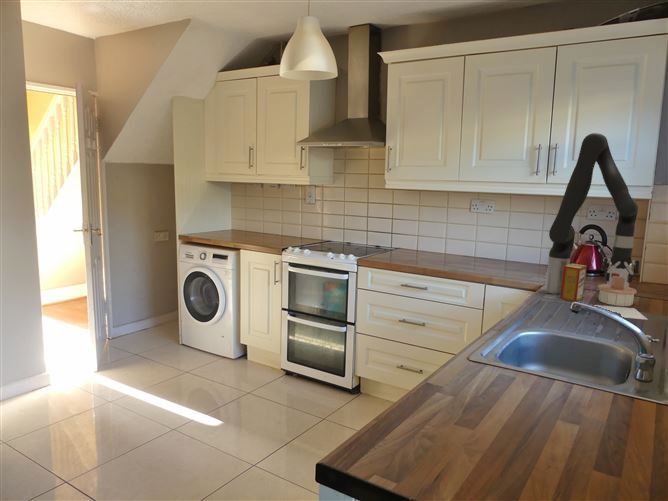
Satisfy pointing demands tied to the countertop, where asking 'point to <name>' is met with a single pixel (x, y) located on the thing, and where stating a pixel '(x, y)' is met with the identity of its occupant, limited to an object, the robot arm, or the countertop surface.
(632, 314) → the mat
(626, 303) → the bowl
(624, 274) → the supplement box
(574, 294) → the baking soda box
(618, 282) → the lid
